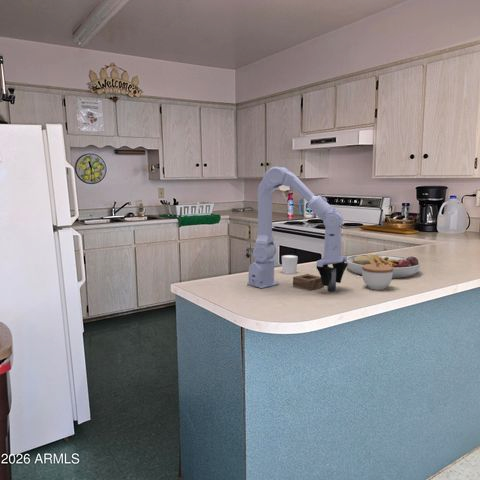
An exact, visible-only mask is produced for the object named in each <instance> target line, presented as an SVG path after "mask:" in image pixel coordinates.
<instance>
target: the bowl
mask: <svg viewBox="0 0 480 480" xmlns="http://www.w3.org/2000/svg"><path fill="white" fill-rule="evenodd" d="M376 262H379V264H382V265H388V266H391V267H393V276H392V279H403V278H408V277H412V276H414V275H416V274H417V273H418V272H419V270H420V268H421V262H420V261H419V259H418V258H416V257H414V256H408V257H406V256H398V255H390V254H389V255H388V254H387V255H386V254H373V253H367V254H356V255H350V256H347V262H345V263H348V266H347V267H346V268H348V269H349V270H350V271H351V272H352V273H354V274H357V275H361V276H363V275H362V270H363V269H362V266H363V265H366V264H376Z"/></svg>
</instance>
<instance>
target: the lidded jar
mask: <svg viewBox="0 0 480 480" xmlns="http://www.w3.org/2000/svg"><path fill="white" fill-rule="evenodd" d="M362 269H363V270H362V275H361V276H362V280H363V282H364V285H366V286H367V289H368V288H369V289H371V290H379V291H381V290H382V291H383V290H386V288H387V287H388V286H389V285H390V284H391V282H392V279H393V278H392V276H393V267H391V266H388V265H382V264H379V262H376V264H366V265H363V266H362Z"/></svg>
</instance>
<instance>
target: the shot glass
mask: <svg viewBox="0 0 480 480" xmlns="http://www.w3.org/2000/svg"><path fill="white" fill-rule="evenodd" d="M298 260H299V258H298V256H297V255H294V254H285V255H281V265H282V273H283V274H284V275H285V274H287V275H294V274H296V273H297V268H298V267H297V266H298Z"/></svg>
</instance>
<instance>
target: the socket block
mask: <svg viewBox="0 0 480 480" xmlns="http://www.w3.org/2000/svg"><path fill="white" fill-rule="evenodd" d="M292 287H295V288H299V289H302V290H306V291H314V290H317V289H321V288H324V287H325V286H324V285H323V284H322V280H321V276H320V275H314V274H309V273H306V274H300V275H296V276H293V277H292Z"/></svg>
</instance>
